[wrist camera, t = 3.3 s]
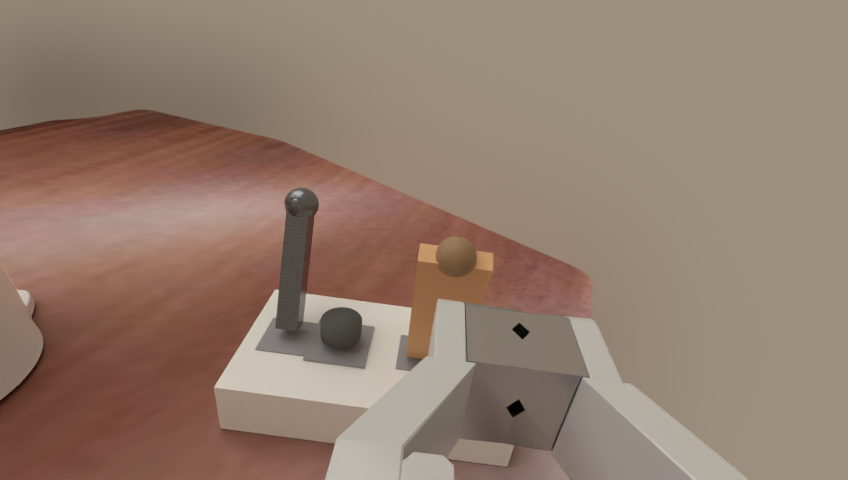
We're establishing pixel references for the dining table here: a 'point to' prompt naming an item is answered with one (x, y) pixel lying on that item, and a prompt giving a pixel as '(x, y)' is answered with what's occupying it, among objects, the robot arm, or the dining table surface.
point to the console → (323, 377)
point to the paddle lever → (445, 285)
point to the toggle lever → (295, 258)
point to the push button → (340, 327)
